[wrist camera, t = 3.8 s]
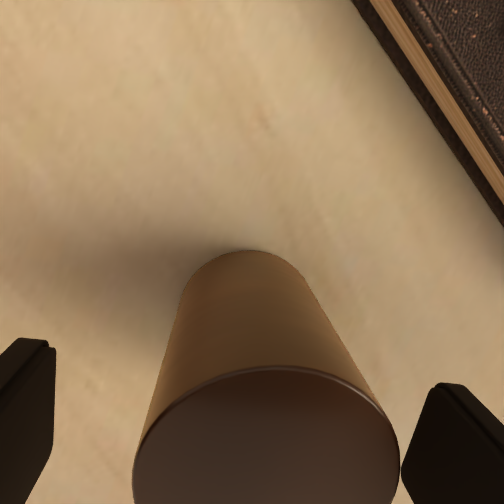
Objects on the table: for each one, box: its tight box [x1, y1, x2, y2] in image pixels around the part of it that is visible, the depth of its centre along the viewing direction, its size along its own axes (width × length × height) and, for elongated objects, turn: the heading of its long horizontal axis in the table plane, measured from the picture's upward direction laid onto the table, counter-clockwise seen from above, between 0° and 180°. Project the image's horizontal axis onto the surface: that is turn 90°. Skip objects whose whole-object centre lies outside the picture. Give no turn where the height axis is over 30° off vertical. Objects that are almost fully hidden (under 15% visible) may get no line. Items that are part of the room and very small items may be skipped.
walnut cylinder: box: [132, 250, 400, 504], centre depth 11 cm, size 6×6×8 cm
